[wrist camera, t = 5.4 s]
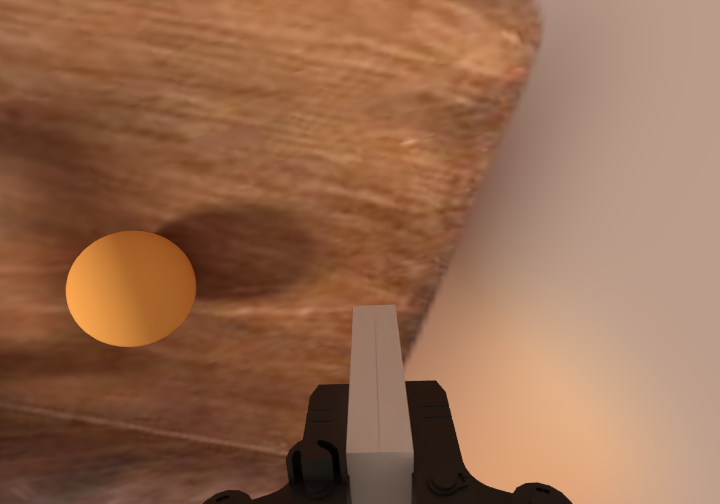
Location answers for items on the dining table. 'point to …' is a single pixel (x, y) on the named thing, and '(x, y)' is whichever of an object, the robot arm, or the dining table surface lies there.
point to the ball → (131, 288)
